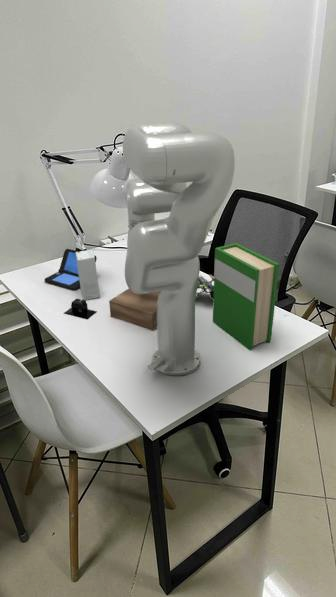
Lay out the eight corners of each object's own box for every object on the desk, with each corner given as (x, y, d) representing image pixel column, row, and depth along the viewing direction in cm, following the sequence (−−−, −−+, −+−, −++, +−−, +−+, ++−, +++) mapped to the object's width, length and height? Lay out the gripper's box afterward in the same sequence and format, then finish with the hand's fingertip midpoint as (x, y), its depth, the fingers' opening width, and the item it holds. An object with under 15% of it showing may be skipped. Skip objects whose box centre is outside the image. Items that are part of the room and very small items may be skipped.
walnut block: (152, 331, 128) (151, 314, 125) (110, 317, 135) (109, 300, 132) (180, 308, 139) (180, 292, 137) (140, 297, 147) (139, 281, 144)
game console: (43, 282, 158) (39, 260, 154) (68, 269, 169) (65, 247, 164) (74, 292, 151) (71, 268, 147) (99, 277, 161) (97, 255, 157)
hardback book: (270, 342, 121) (279, 263, 109) (249, 350, 117) (256, 270, 106) (232, 315, 134) (236, 243, 123) (212, 322, 131) (215, 248, 120)
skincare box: (100, 298, 146) (96, 257, 139) (82, 300, 145) (77, 259, 138) (97, 287, 153) (93, 248, 146) (80, 290, 152) (75, 250, 145)
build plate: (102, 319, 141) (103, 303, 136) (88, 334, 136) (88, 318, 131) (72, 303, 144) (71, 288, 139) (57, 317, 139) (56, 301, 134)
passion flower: (211, 313, 147) (230, 294, 138) (185, 317, 141) (203, 297, 132) (198, 285, 151) (215, 265, 142) (172, 288, 145) (189, 267, 136)
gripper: (132, 234, 115) (135, 294, 124) (169, 217, 127) (170, 273, 136) (111, 229, 119) (116, 287, 128) (149, 213, 131) (151, 267, 140)
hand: (144, 279), depth 132 cm, fingers closed on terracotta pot, 5 cm apart
